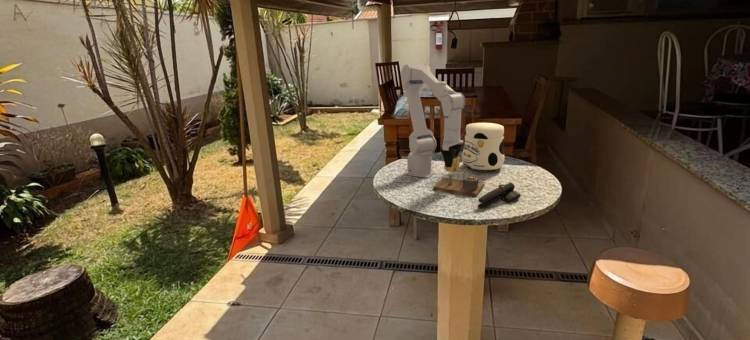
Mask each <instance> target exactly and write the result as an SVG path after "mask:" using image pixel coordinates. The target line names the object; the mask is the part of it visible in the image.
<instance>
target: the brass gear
mask: <svg viewBox="0 0 750 340" xmlns="http://www.w3.org/2000/svg"><path fill="white" fill-rule="evenodd" d="M460 159H461V158H460V157H459V155H458V156H456V155H454V158H453V163H452V167H446V166H445V165H444V170H445V171H446V172H449V173H456V172H458V171H459V170H460V165H461V164H460Z"/></svg>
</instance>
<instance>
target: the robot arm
mask: <svg viewBox="0 0 750 340" xmlns="http://www.w3.org/2000/svg"><path fill="white" fill-rule="evenodd" d="M400 77H401V78H400V79H401V83H402V87H403V88H404V90H405V94H406V95H405V96H406V99H407V100H406V101H407V105H408V110H409V114H410V119H411V124H412V128H413V129H412V130H413V131H412V132H411V133H410V135H409V136H408V140H409V141H408V142H409V143H408V144H409V145H408V147H409V151H410V152H409V153H408V154H407V163H406V165H407V167H406V168H407V169H406V170H407V171H406V172H407V173H406V176H412V177H419V178H426V179H429V178H430V177H432V176H433V174H435V173H436V172H435V170H432V165H433V164H432V160H433V158H432V157H433V154H434V152H435V150H436V149H437V140H436V138H435V136H434V133H433V131H431V130H430V129H429V128H428V127H427V123H426V119H425V113H424V109H423V104H422V100H421V99H422V98H421V95H420V88H421V87H423V86H424V84H426V85H427V86H428V87H430V89H431V92H432V93H431V94H432V95H433V96H435V98H436V99H437V100H439V102H440V104H441V107H442V113H443V116H444V120H443V121H444V123H443V124H444V125H443V126H444V127H443V140H442V141H443V142H442V146H441V147H440V148H439V151H440V152H441V155H442V157H443V162H444V167H445V166H446V167H452V163H453V158H454V155H456V156H458V157H459V154H460V152H461V149H462V147H464V146H463V145H464V140H463V139H462V140H461V131H462V130H461V126H462V123H461V122H462V110H463V109H464V108H465V106H466V97H465V95H464V94H463V93H462V92H457V91H455V90H454V89H452V88H451V87H450V85H448V84H447V82H446V81H439V80H438V79H437V78H436V76H435V75H434V74H433V73H432V72H431V67H430V66H429V65H428V64H427V63H419V64H418V63H417V64H404V65H403V66H402V69H401V72H400Z"/></svg>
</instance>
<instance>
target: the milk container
mask: <svg viewBox="0 0 750 340" xmlns="http://www.w3.org/2000/svg"><path fill="white" fill-rule="evenodd" d="M464 133H465V134H464V146H463V151H462V153H461V162H462V165H463V166H464V167H465V168H467V169H469V170H472V171H477V172H492V171H493V172H495V171H497V170H500V169H501V168H502V167H503V166H504V163H505V151H504V141H505V140H504V139H505V127H504V125H501V124H499V123H493V122H472V123H468V124H466V126H465V131H464Z"/></svg>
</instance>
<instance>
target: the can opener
mask: <svg viewBox="0 0 750 340" xmlns="http://www.w3.org/2000/svg"><path fill="white" fill-rule="evenodd" d="M521 196H522V194H521V193H520V192H518V191H517V190H515V184H514V183H512V182H509V183H506V184H499V185H498V187H496V188H495V189H492V190H491V191H489V192H487V193H485V194H483V195H482V196H481V197H479V198H478V202H479V204H477V208H478V209H481V210H482V209H485V208H488V207H490V206H492V205H493V204H495V203H497V202H498V201H501V200H503V202H506V203H509V204H511V203H512V204H513V203H514V202H516V201H517V200H519V199H520V198H521Z"/></svg>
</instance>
